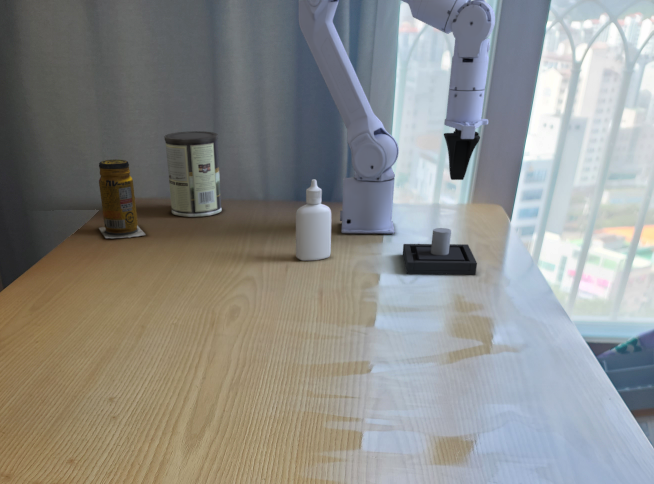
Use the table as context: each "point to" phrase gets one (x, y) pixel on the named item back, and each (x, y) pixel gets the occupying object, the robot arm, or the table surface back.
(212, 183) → the coffee can
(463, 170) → the robot arm
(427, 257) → the stud pad
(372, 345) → the table surface
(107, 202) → the condiment
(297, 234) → the eye dropper bottle
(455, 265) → the socket pad
